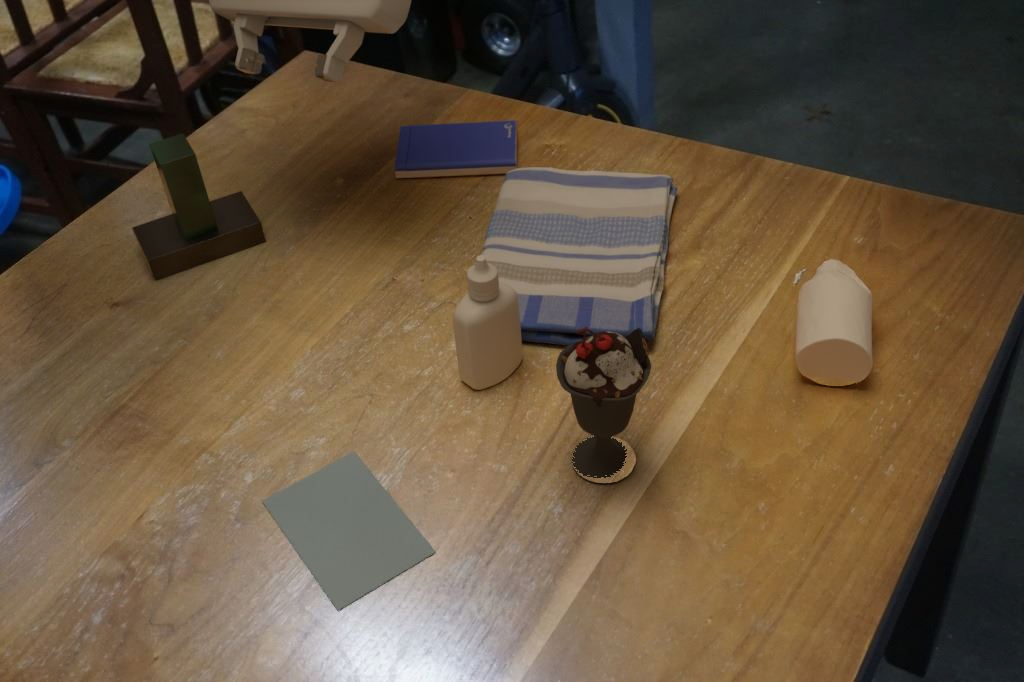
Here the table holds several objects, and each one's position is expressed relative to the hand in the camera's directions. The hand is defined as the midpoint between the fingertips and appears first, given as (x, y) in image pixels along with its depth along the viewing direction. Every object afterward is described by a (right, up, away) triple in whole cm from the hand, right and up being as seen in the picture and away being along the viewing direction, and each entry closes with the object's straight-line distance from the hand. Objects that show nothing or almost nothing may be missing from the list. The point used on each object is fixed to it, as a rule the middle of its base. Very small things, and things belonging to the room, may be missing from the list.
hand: (286, 75), depth 92 cm
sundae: (+26, -32, -8) cm, 42 cm away
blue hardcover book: (+13, -3, +23) cm, 27 cm away
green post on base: (-11, -13, +14) cm, 22 cm away
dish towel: (+25, -15, +9) cm, 30 cm away
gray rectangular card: (+7, -36, -12) cm, 38 cm away
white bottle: (+46, -22, 0) cm, 51 cm away
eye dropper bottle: (+17, -25, -1) cm, 30 cm away
